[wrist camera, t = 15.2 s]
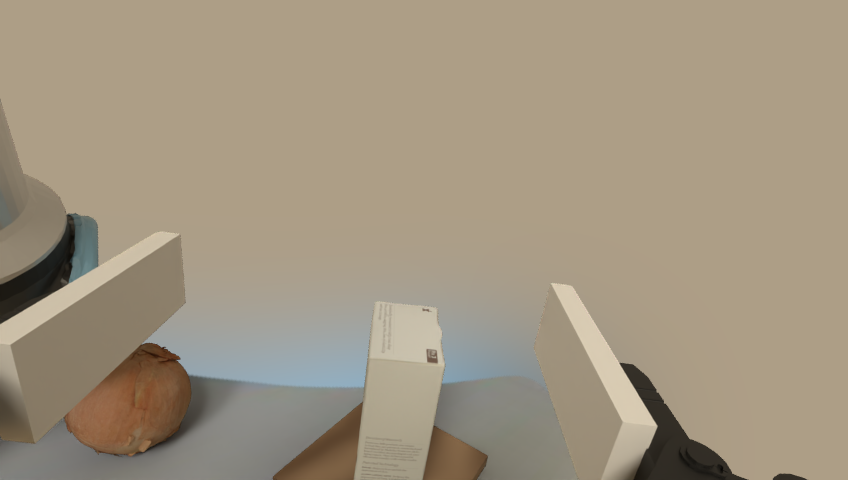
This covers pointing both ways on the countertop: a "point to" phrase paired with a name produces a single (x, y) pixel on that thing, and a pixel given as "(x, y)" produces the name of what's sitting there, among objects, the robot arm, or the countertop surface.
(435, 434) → the coaster
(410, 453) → the skincare box
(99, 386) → the onion
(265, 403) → the countertop surface
